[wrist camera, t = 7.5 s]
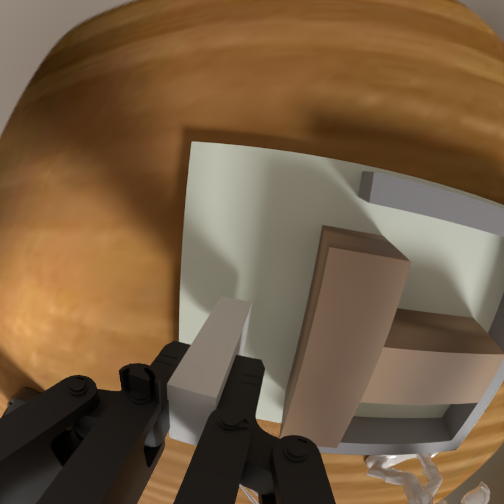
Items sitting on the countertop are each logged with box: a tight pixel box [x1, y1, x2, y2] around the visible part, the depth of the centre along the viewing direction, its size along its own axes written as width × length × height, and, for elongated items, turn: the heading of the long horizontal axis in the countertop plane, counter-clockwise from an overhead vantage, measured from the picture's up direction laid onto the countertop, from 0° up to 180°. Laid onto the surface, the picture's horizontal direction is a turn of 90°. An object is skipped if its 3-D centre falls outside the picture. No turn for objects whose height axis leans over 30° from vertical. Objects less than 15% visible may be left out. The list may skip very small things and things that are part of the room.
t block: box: [279, 225, 504, 448], centre depth 13 cm, size 10×10×4 cm
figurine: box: [365, 452, 490, 504], centre depth 12 cm, size 5×9×12 cm, turn 111°
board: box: [179, 141, 504, 455], centre depth 14 cm, size 20×16×3 cm
